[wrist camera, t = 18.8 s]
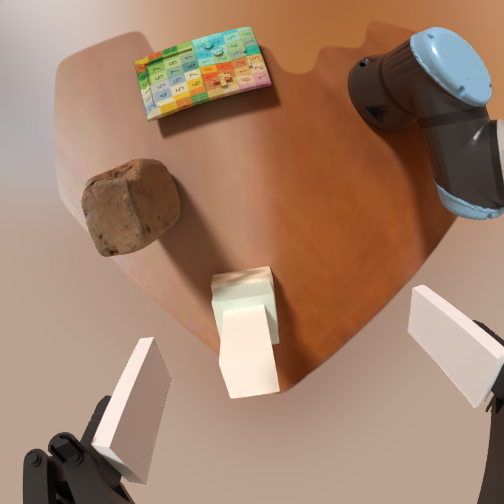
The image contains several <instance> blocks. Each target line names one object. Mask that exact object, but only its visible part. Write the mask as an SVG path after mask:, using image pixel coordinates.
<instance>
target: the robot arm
mask: <svg viewBox="0 0 504 504" xmlns="http://www.w3.org/2000/svg"><path fill="white" fill-rule="evenodd" d="M491 87H492V83H491V79H490V76H489V73H488V71H487V69H486V67H485V65H484V63H483V61H482V59H481V58H480V57H479V55H478V54H477V52H476V51H475V50H474V49H473V48H472V47H471V46H470V45H469V43H467V42H466V41H464V40H463V39H462V38H461V37H460V36H459V35H457V34H456V33H454V32H452V31H450V30H447V29H445V28H440V27H433V28H429V29H427V30H425V31H423V32H419V33H416V34H414V35H413V36H412V37H411V38H410V39H408V40H407V41H405V42H404V43H402V44H401V45H399V46H398V47H396V48H395V49H393V50H392V51H390V52H389V53H387V54H380V55H371V56H368V57H365V58H363V59H361V60H360V61H359V62H358V63H356V64H355V65H354V66H353V68H352V69H351V71H350V74H349V77H348V90H349V94H350V97H351V100H352V102H353V104H354V106H355V108H356V109H357V111H358V112H359V113H360V115H361V116H362V117H363V118H364V119H365V120H366V121H368V122H369V123H370V124H372V125H373V126H375V127H377V128H379V129H382V130H386V131H397V130H402V129H406V128H408V127H410V126H411V125H412V124H414V123H415V122H416V121H417V120H418V123H419V126H420V129H421V132H422V136H423V139H424V142H425V145H426V149H427V153H428V156H429V160H430V164H431V168H432V172H433V181H434V183H435V185H436V187H437V191H438V195H439V199H440V201H441V203H442V204H443V205H444V207H445V208H446V209H447V210H448V211H450V212H451V213H453V214H455V215H458V216H460V217H464V218H468V219H474V220H486V218H490V219H493V218H497V217H499V216H500V215H502V214H503V213H504V121H503V120H500V119H497V120H490V119H489V116H488V112H487V109H486V104H487V103H488V102H489V101H490V99H491V96H492V90H491ZM408 333H409V334H410V335H411V336H412V337H413V338H414V339H415V340H416V341H417V342H418V343H419V344H420V346H421V347H422V348H423V349H424V350H425V351H426V352H427V353H428V354H429V356H430V357H431V358H432V359H433V360H434V361H435V362H436V363H437V364H438V366H439V367H440V368H441V369H442V370H443V371H444V372H445V374H446V375H447V376H448V377H449V378H450V379H451V381H452V382H453V383H454V384H455V385H456V387H457V388H458V389H459V390H460V391H461V392H462V394H463V395H464V396H465V397H466V399H467V400H468V401H469V402H470V403H471V404H472V406H473V407H474V408H475V407H477V406H478V405H480V404H481V403H483V402H484V401H485V400H486V399H487V397H488V395H489V393H490V391H492V392H493V393H494V396H493V397H492V399H491V401H490V403H489V405H488V406H487V408H486V412H488V410H489V408H490V407H491V405H492V409H491V412H492V413H491V415H492V416H491V429H490V439H489V448H488V455H487V461H486V467H485V473H484V478H483V482H482V487H481V491H480V495H479V498H478V502H477V504H504V340H503V339H501V338H500V337H499V336H498V335H495V333H494V332H493V331H492V330H490V329H489V328H488V327H487V326H485V325H484V324H483V323H480V322H478V321H475V320H472V321H471V320H470V319H469V318H468V317H466V316H465V315H464V314H463V313H461V312H460V311H459V310H457V309H456V308H455V307H453V306H452V305H451V304H449V303H448V302H447V301H445V300H444V299H443V298H441V297H440V296H439V295H437V294H436V293H434V292H433V291H432V290H430V289H429V288H428V287H426V286H425V285H421V286H417V287H414V288H412V299H411V308H410V317H409V325H408ZM170 382H171V376H170V374H169V372H168V370H167V368H166V365H165V363H164V360H163V358H162V356H161V353H160V351H159V349H158V346H157V344H156V341H155V339H154V337H151V338H141V339H140V340H139V342H138V344H137V346H136V348H135V350H134V352H133V354H132V356H131V358H130V360H129V362H128V364H127V366H126V368H125V370H124V372H123V374H122V376H121V378H120V380H119V382H118V384H117V387H116V389H115V391H114V393H113V395H112V396H105V397H104V398H103V399H102V400H101V401H100V402H99V403H98V405H97V407H96V409H95V411H94V414H93V415H92V417H91V421H89V423H88V426H87V428H86V430H85V432H84V435H83V437H82V439H81V441H80V442H79V441H78V440H77V439H76V438H75V437H74V436H73V435H72V434H70V433H67V432H62V433H58V434H57V435H55V436H54V437H53V438H52V439H51V440H50V442H49V445H48V451H49V452H50V453H51V454H52V455H53V456H48V455H47V454H46V453H45V452H44V451H42V450H41V449H33V450H31V451H30V452H28V453H27V454H26V456H25V459H24V466H23V504H135V503H134V501H133V500H132V498H131V497H130V495H129V494H128V492H127V490H126V489H125V487H124V485H123V484H122V483H121V482H120V480H121V476H123V477H124V478H126V479H127V480H128V481H129V482H134V483H141V484H146V482H147V477H148V473H149V468H150V463H151V459H152V454H153V450H154V445H155V442H156V437H157V433H158V429H159V424H160V421H161V417H162V413H163V409H164V405H165V401H166V397H167V393H168V390H169V386H170Z"/></svg>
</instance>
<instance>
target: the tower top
mask: <svg viewBox="0 0 504 504" xmlns="http://www.w3.org/2000/svg"><path fill="white" fill-rule="evenodd" d="M259 305H264V308H265V313H266V318H267V324H268V329H269V334H270V340H271V345H272V344H278V343H279V336H278V327H277V319H276V311H275V303H274V295H273V291H272V287H271V284H270V280H268V281H261V282H255V283H248V284H242V285H235V286H228V287H221V288H214V292H213V297H212V307H213V311H214V315H215V319H216V324H217V328H218V332H219V336H220V340H221V334H222V323H223V312H224V311H230V310H236V309H242V308H248V307H254V306H259Z"/></svg>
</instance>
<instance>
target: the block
mask: <svg viewBox="0 0 504 504" xmlns="http://www.w3.org/2000/svg"><path fill="white" fill-rule="evenodd" d="M81 203H82V209H83V212H84V215H85V218H86V224H87V226H88V229H89V232H90V235H91V237H92V239H93V241H94V243H95V246H96V248H97V250H98V252H99V253H100V254H101V255H102V256H105V257H109V256H115V255H123V254H128V253H132V252H135V251H138V250H140V249H142V248H144V247H146V246H148V245H149V244H151V243H152V242H153V241H155V240H156V239H158V238H159V237H160V236H161V235H163V234H164V233H165V232H166V231H168V230H169V229H170V228H171V227H172V226H173V225H174V224H175V223H176V222H177V221H178V219H179V217H180V210H181V202H180V197H179V194H178V190H177V188H176V185H175V183H174V181H173V180H172V177H171V175H170V173H169V172H168V170H167V168H166V167H165V166H164V165H163V163H161V162H160V161H158V160H154V159H145V158H144V159H135V160H132V161H129V162H127V163H125V164H123V165H120V166H118V167H116V168H115V169H112V170H109V171H107V172H104V173H102V174H99V175H96V176H94V177H92V178H91V179H89V180H88V181H87V182H86V187H85V190H84V192H83V196H82V200H81Z"/></svg>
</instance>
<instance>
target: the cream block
mask: <svg viewBox="0 0 504 504" xmlns="http://www.w3.org/2000/svg"><path fill="white" fill-rule="evenodd" d="M219 365H220V368H221V371H222V374H223V377H224V380H225V383H226V386H227V389H228V391H229V394H230V397H231V399H232V398H240V397H248V396H255V395H261V394H267V393H273V392H279V391H280V389H279V384H278V378H277V373H276V367H275V361H274V356H273V350H272V345H271V340H270V334H269V329H268V324H267V318H266V313H265V308H264V305H259V306H254V307H248V308H242V309H236V310H230V311H224V312H223V323H222V334H221V346H220V358H219Z"/></svg>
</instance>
